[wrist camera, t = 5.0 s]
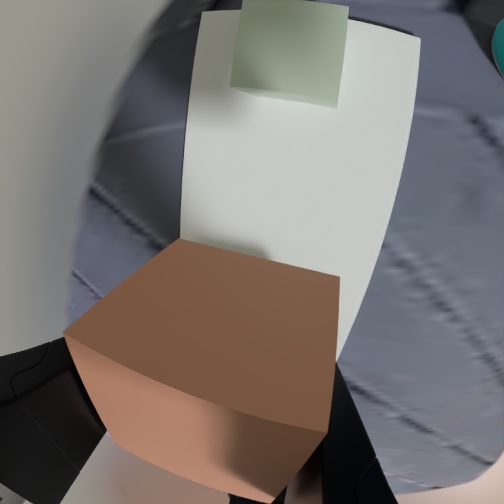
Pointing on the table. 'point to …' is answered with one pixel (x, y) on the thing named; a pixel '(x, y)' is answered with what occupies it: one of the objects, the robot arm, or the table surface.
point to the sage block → (290, 50)
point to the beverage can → (499, 47)
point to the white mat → (299, 159)
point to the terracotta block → (214, 365)
